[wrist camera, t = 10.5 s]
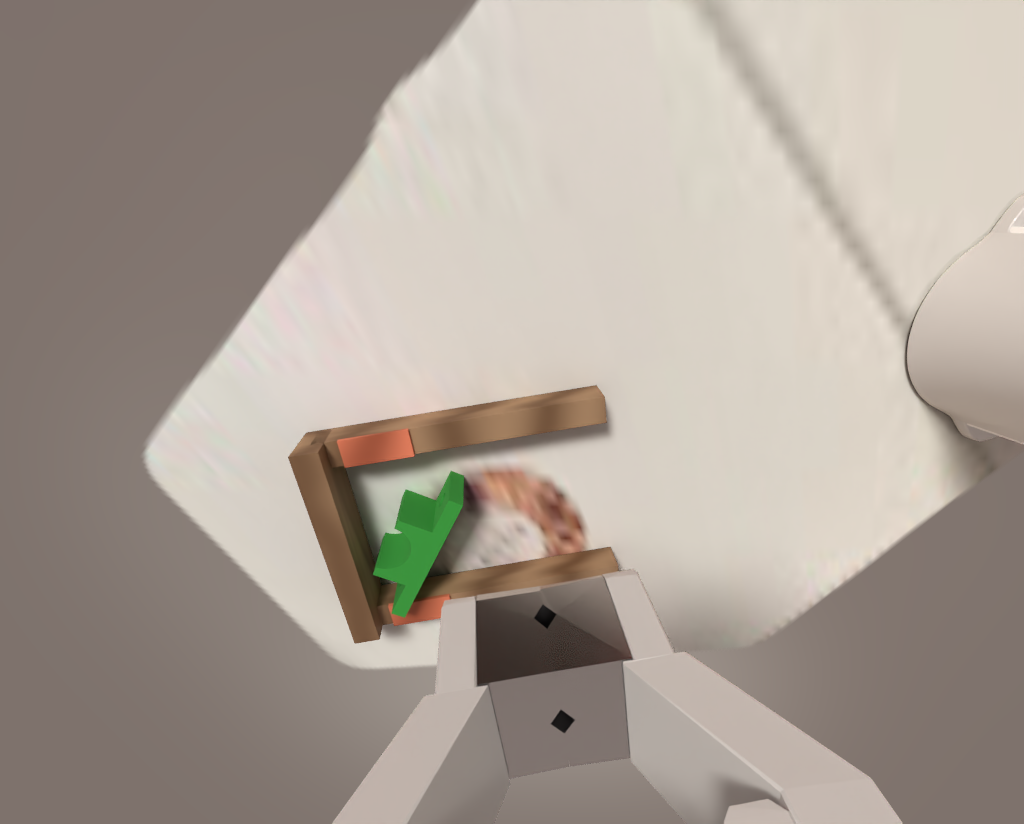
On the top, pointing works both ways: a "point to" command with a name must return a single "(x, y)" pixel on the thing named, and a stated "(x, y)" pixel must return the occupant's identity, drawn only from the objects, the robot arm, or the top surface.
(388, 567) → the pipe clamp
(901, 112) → the top surface
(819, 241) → the top surface
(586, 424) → the guide channel
